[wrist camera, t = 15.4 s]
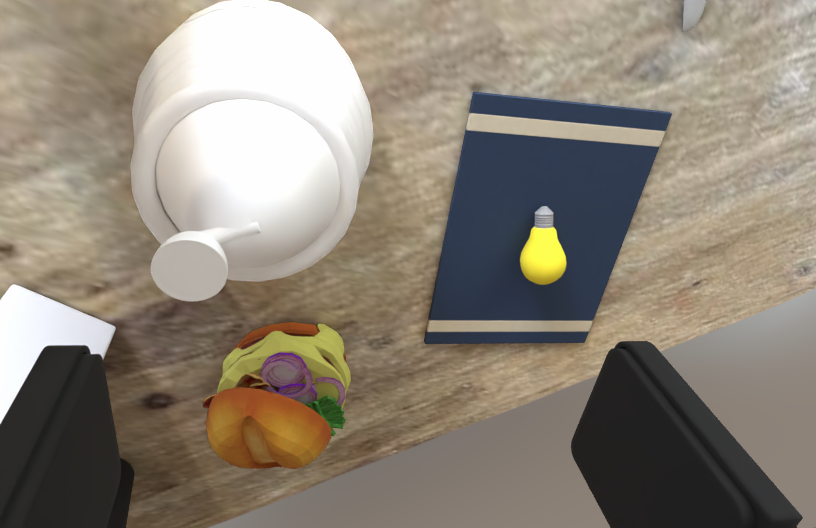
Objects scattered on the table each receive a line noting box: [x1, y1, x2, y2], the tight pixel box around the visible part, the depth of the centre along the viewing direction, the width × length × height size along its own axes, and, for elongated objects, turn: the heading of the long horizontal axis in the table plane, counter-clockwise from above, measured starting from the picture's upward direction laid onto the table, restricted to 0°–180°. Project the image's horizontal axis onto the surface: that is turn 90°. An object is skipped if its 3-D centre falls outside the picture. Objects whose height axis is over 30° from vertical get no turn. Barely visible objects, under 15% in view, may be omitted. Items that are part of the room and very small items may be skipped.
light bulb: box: [520, 206, 567, 285], centre depth 42 cm, size 3×6×4 cm, turn 179°
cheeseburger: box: [203, 322, 351, 469], centre depth 43 cm, size 10×11×10 cm
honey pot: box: [130, 0, 373, 301], centre depth 27 cm, size 13×13×18 cm
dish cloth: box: [424, 92, 672, 344], centre depth 44 cm, size 21×15×1 cm
